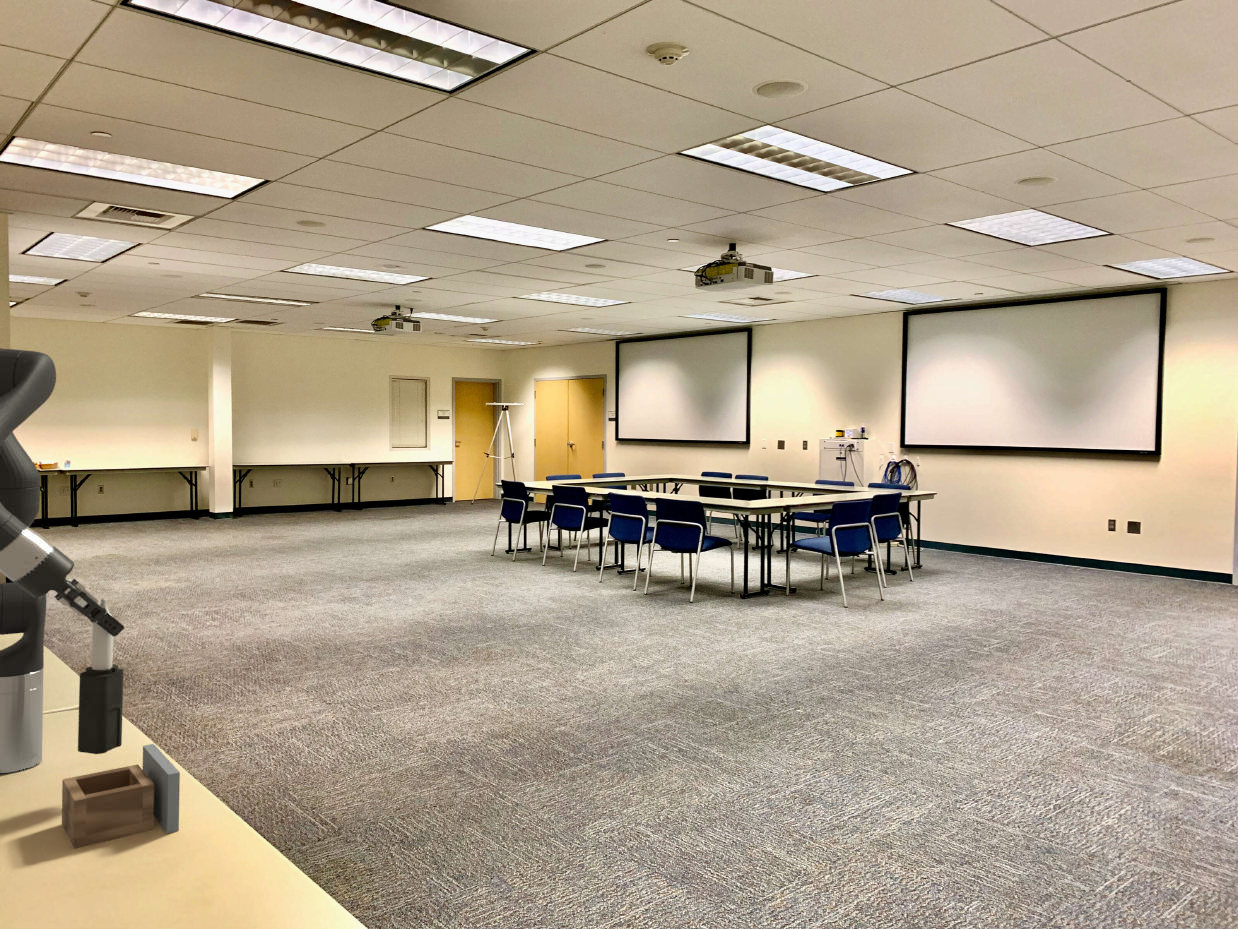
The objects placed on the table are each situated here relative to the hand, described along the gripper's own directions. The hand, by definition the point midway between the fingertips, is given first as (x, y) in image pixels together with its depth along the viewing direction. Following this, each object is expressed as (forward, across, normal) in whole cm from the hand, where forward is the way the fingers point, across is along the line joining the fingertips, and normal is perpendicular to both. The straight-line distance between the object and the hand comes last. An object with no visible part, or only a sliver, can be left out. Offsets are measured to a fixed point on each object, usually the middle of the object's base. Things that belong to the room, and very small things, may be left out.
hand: (116, 629), depth 143 cm
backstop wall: (+23, -13, +17) cm, 31 cm away
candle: (+13, 0, +15) cm, 20 cm away
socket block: (+18, -13, +22) cm, 31 cm away
